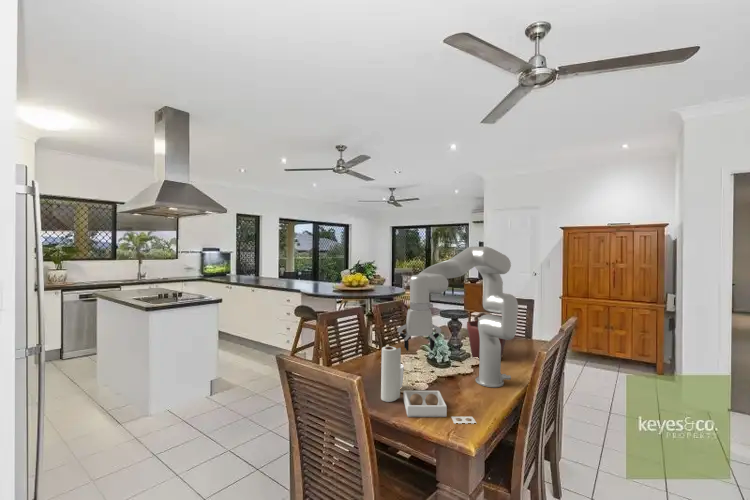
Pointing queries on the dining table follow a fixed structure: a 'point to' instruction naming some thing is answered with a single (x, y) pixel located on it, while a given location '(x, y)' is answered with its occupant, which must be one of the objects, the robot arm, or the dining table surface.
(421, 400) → the walnut ball
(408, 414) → the bin
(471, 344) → the bucket
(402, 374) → the white cup
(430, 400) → the ball
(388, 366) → the paper towel roll
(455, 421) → the card
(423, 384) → the dining table surface
